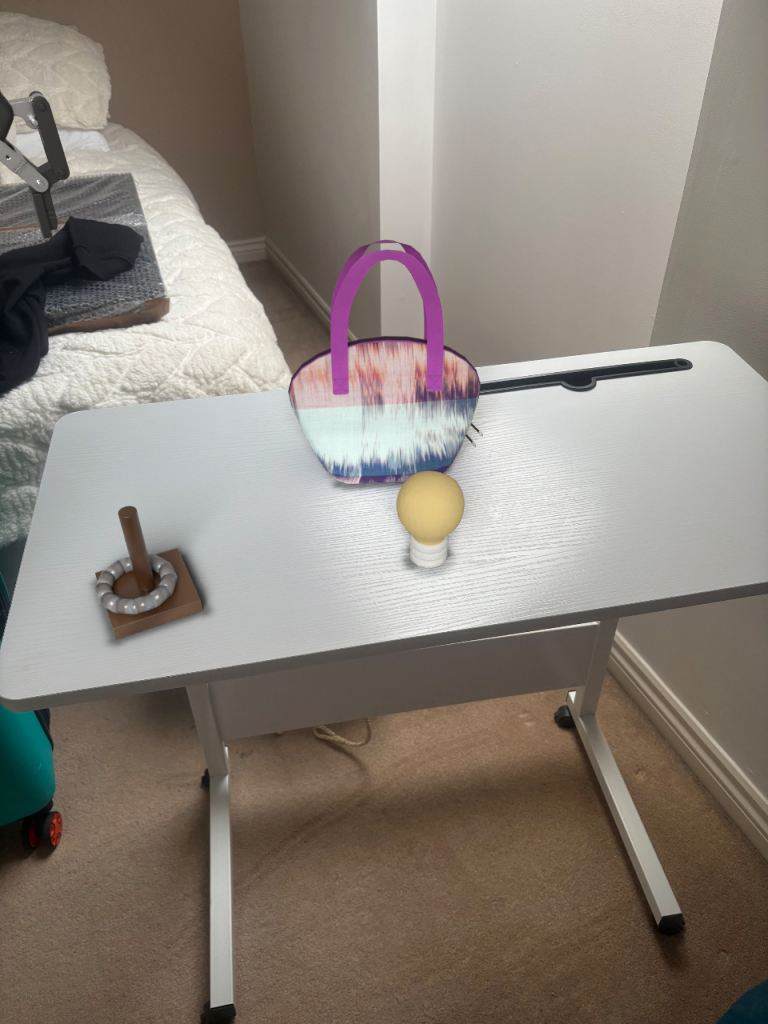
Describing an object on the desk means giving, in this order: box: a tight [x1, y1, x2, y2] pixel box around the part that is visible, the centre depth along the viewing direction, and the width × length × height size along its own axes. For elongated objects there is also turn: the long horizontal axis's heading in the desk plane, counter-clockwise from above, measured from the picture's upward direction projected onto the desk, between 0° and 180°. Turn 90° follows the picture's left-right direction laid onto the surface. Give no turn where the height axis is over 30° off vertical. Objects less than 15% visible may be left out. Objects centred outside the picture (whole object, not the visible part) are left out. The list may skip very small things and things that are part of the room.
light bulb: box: [395, 471, 466, 569], centre depth 79 cm, size 6×6×10 cm
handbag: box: [287, 239, 484, 485], centre depth 87 cm, size 21×10×25 cm, turn 94°
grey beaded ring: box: [94, 554, 178, 614], centre depth 76 cm, size 7×7×1 cm
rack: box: [94, 505, 204, 640], centre depth 75 cm, size 8×8×10 cm
